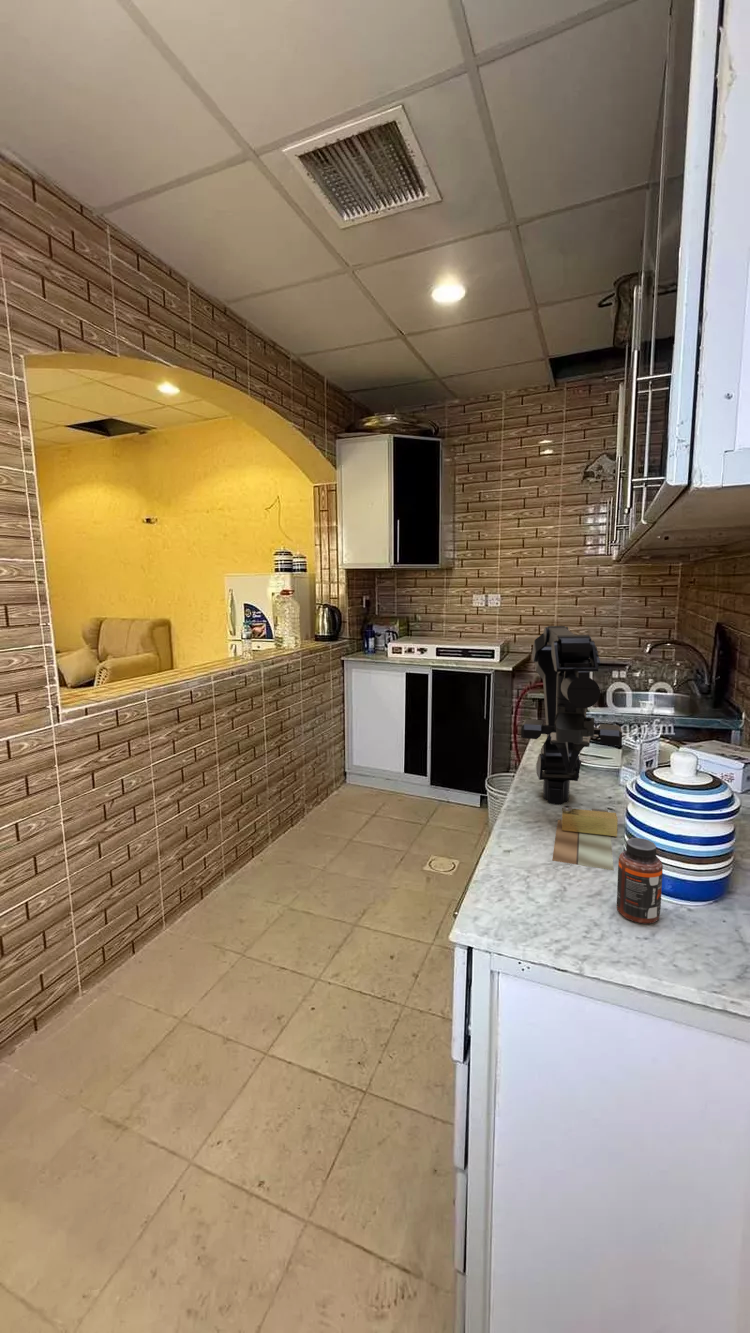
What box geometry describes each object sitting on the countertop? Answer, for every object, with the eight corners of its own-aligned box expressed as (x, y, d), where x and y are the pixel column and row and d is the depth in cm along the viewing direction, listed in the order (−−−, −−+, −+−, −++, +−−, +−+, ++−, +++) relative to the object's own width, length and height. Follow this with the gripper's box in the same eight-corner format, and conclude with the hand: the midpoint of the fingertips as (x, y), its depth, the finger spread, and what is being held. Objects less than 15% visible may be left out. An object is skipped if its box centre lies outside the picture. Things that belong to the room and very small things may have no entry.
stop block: (591, 824, 107) (591, 808, 107) (607, 827, 106) (607, 810, 106) (591, 828, 106) (591, 811, 105) (607, 830, 105) (608, 813, 104)
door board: (557, 825, 110) (557, 819, 110) (609, 832, 107) (609, 826, 106) (552, 866, 94) (552, 860, 94) (613, 876, 90) (613, 870, 90)
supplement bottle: (665, 928, 76) (670, 854, 75) (621, 923, 78) (625, 851, 76) (652, 904, 82) (656, 835, 81) (612, 900, 83) (615, 833, 82)
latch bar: (562, 830, 105) (562, 809, 104) (561, 823, 107) (562, 803, 107) (616, 836, 102) (617, 815, 101) (615, 829, 104) (616, 809, 104)
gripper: (518, 703, 101) (517, 780, 103) (625, 708, 94) (622, 792, 96) (524, 692, 111) (523, 763, 113) (622, 697, 104) (618, 772, 106)
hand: (569, 772), depth 107 cm, fingers closed
